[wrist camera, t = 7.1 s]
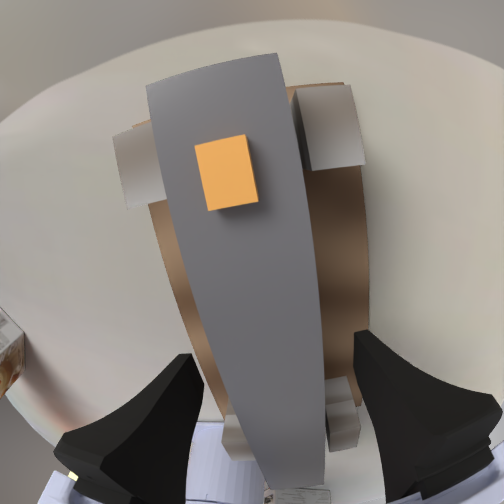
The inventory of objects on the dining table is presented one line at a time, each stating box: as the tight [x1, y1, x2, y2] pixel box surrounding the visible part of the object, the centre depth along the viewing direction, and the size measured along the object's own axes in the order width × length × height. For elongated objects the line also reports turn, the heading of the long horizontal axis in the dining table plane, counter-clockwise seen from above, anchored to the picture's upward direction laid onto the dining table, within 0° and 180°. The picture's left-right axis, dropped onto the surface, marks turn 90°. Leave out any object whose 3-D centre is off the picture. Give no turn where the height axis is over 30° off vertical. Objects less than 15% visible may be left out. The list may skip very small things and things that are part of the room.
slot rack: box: [113, 82, 369, 461], centre depth 14 cm, size 24×12×6 cm, turn 11°
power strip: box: [146, 53, 325, 490], centre depth 11 cm, size 22×4×6 cm, turn 11°
